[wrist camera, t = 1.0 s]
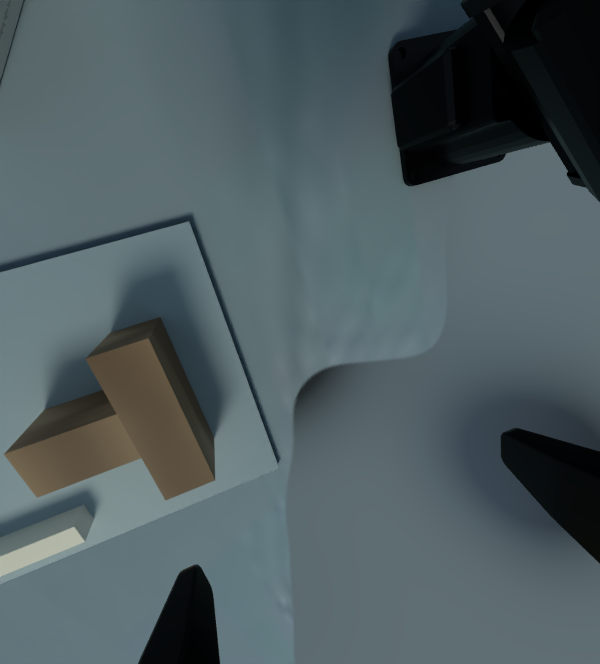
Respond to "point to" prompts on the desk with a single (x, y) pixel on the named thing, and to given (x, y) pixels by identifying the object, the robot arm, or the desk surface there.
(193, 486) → the tee
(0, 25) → the light bulb box
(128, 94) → the desk surface
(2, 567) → the jig
